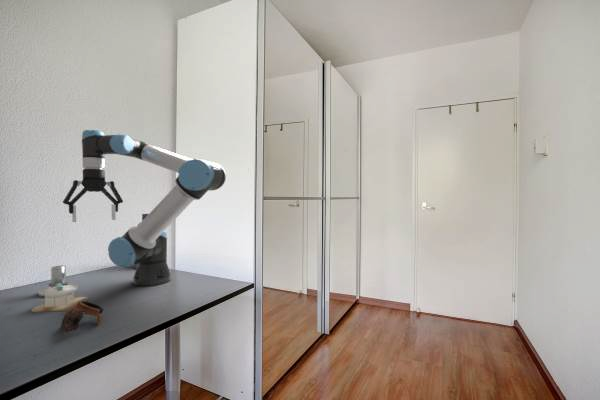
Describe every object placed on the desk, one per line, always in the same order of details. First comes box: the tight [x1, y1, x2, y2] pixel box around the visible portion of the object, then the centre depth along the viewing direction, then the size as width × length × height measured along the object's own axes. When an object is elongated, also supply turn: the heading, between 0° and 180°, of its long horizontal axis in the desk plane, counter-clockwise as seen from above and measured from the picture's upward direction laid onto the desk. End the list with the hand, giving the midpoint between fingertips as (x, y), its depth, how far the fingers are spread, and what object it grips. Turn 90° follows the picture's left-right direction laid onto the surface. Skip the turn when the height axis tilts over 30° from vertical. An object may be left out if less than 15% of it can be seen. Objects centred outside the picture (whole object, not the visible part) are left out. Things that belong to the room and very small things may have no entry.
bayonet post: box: [38, 264, 79, 298], centre depth 118 cm, size 12×12×10 cm
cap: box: [44, 283, 75, 307], centre depth 104 cm, size 8×8×6 cm
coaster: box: [31, 296, 88, 313], centre depth 105 cm, size 11×11×1 cm
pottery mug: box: [59, 300, 105, 333], centre depth 87 cm, size 12×10×8 cm
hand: (94, 220), depth 123 cm, fingers open, 13 cm apart
